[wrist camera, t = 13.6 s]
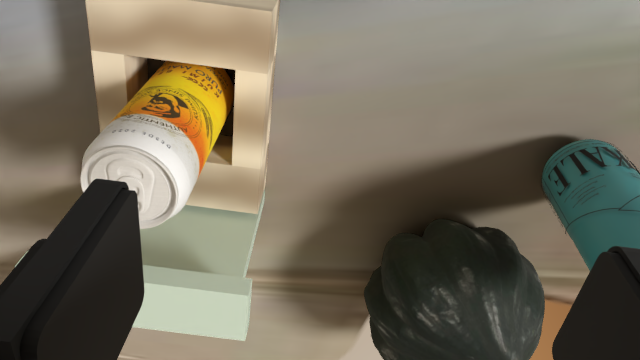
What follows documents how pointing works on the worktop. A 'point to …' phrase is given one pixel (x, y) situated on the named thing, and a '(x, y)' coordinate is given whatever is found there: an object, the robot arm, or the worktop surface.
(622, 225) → the beverage bottle
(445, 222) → the squash
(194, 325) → the mint green slab
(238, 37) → the socket
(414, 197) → the worktop surface
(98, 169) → the beer can
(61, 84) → the worktop surface
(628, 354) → the robot arm
